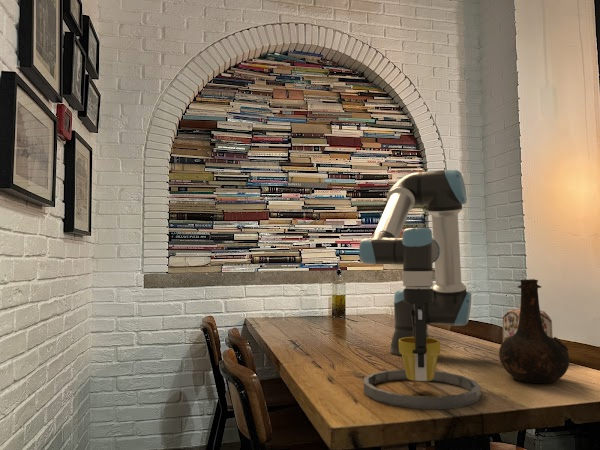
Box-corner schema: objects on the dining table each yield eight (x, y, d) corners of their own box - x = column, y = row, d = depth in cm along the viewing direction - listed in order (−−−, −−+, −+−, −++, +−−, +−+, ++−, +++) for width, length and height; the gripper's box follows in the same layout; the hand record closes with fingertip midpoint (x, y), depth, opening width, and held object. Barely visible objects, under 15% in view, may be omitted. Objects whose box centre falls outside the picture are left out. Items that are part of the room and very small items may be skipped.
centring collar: (341, 389, 128) (341, 380, 129) (411, 373, 146) (411, 365, 146) (432, 417, 106) (431, 405, 106) (502, 394, 124) (501, 384, 124)
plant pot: (406, 384, 121) (405, 343, 121) (394, 374, 131) (393, 336, 132) (447, 383, 122) (446, 342, 122) (432, 373, 132) (431, 336, 133)
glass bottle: (569, 391, 126) (565, 281, 128) (495, 383, 135) (492, 280, 137) (570, 376, 142) (566, 278, 144) (503, 370, 151) (501, 277, 152)
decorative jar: (554, 359, 165) (552, 305, 167) (522, 361, 164) (520, 306, 165) (532, 353, 177) (530, 302, 178) (502, 354, 175) (500, 303, 176)
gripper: (437, 290, 116) (439, 387, 114) (429, 285, 138) (431, 366, 137) (404, 290, 117) (406, 385, 116) (402, 285, 140) (403, 365, 138)
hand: (419, 375), depth 126 cm, fingers closed on plant pot, 10 cm apart
